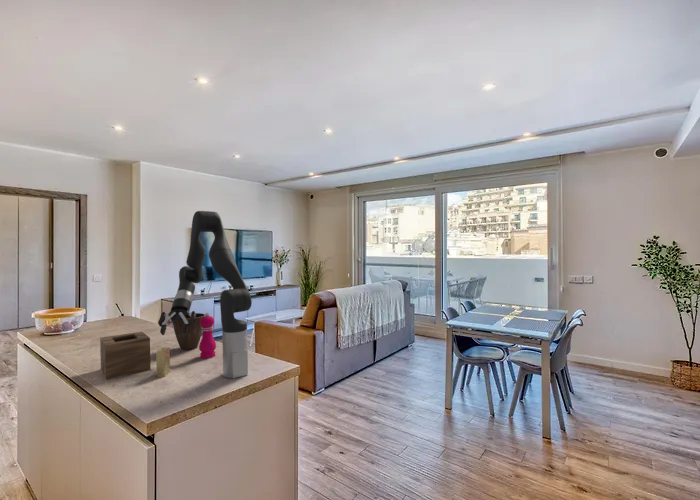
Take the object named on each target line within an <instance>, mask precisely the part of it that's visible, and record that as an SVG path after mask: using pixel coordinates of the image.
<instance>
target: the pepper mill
mask: <svg viewBox="0 0 700 500" xmlns="http://www.w3.org/2000/svg"><path fill="white" fill-rule="evenodd" d="M204 314H205V316H204V317H203V318H202V319H201V321H200V324H201V326H202V335H201V339H200V341H199V344H198V350H199V351H200V354H199V355H200V358H201V359H211V358H215V356H216V351H215V350H216V348H217V344H216V340H215V339H214V335H213V330H214V326H213V325H214V324H215V319H214V317H213V316H211V315H210V313H209V312H206V313H204Z"/></svg>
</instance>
